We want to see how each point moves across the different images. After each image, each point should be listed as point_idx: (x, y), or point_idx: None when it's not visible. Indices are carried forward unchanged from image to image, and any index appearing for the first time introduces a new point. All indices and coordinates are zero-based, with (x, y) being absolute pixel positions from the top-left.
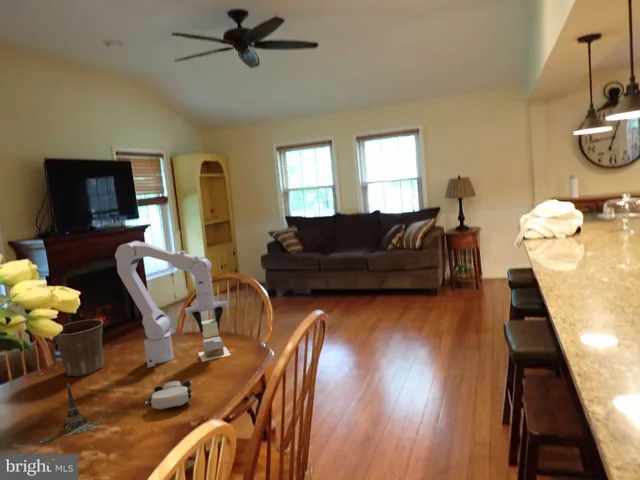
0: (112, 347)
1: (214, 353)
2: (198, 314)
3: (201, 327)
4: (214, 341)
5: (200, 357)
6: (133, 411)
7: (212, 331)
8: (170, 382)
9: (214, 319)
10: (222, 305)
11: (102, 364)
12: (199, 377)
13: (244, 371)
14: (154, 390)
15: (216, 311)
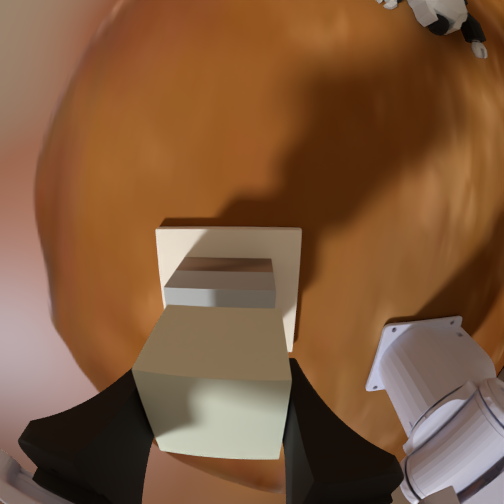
0: None
1: (229, 263)
2: (334, 498)
3: (295, 383)
4: None
5: (296, 291)
6: (496, 22)
7: (204, 326)
8: (451, 4)
9: (161, 443)
10: (30, 490)
11: (502, 377)
12: (338, 71)
13: (149, 28)
14: (482, 41)
15: (71, 457)
